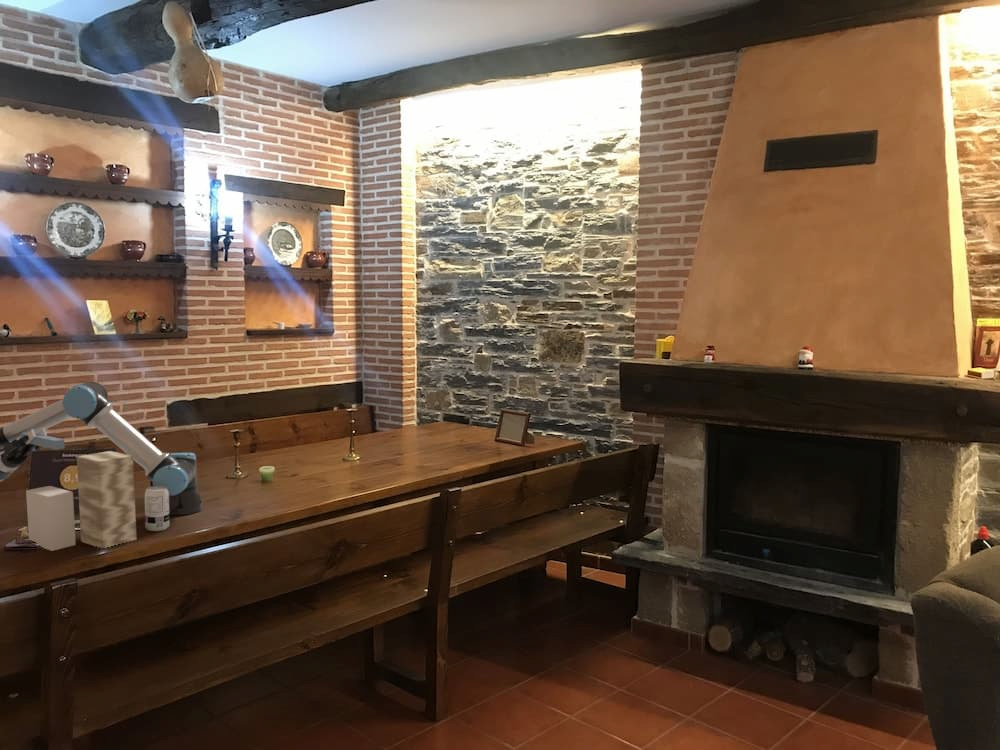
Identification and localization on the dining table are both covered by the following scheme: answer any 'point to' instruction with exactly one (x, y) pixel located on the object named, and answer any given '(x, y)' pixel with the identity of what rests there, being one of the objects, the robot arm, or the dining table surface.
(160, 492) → the supplement can
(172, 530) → the dining table surface
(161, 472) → the robot arm
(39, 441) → the slate bar
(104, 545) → the birch stand
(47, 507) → the white step
